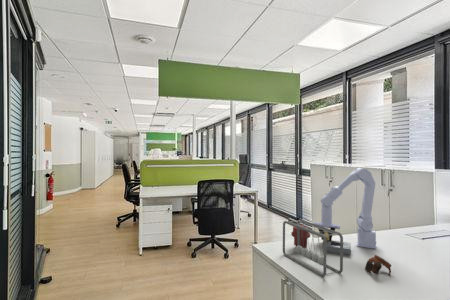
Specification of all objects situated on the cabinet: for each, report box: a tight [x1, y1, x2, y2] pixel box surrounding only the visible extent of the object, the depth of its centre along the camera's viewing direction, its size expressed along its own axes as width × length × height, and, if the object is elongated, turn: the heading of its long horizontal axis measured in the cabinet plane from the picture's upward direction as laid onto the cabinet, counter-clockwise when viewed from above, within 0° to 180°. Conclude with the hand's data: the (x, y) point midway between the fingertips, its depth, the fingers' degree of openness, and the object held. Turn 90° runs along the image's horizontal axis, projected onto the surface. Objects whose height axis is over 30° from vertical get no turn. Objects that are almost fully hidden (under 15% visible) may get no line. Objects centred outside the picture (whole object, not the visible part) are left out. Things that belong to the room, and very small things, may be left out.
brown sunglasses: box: [364, 254, 392, 276], centre depth 122 cm, size 12×10×8 cm
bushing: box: [322, 230, 330, 244], centre depth 163 cm, size 4×4×7 cm
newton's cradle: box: [282, 218, 344, 278], centre depth 132 cm, size 30×10×18 cm, turn 24°
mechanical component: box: [290, 224, 311, 249], centre depth 154 cm, size 12×10×10 cm
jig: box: [322, 239, 352, 257], centre depth 150 cm, size 13×11×4 cm
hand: (326, 239), depth 163 cm, fingers closed on bushing, 4 cm apart
